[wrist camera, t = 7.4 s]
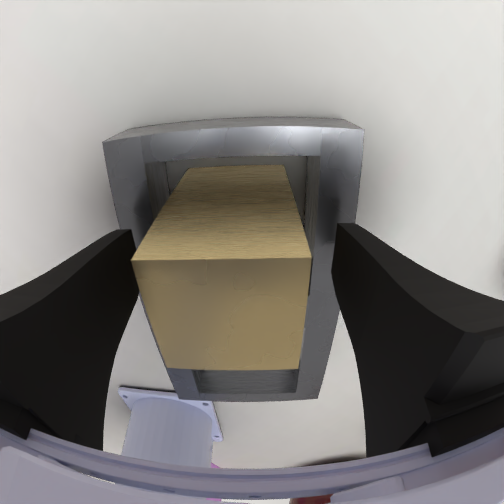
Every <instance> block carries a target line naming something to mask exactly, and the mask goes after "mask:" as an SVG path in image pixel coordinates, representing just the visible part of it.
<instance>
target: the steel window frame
mask: <svg viewBox="0 0 504 504" xmlns="http://www.w3.org/2000/svg"><path fill="white" fill-rule="evenodd" d="M102 143H103V149H104V155H105V161H106V166H107V172H108V177H109V182H110V187H111V192H112V196H113V201H114V205H115V210H116V214H117V218H118V222H119V226H120V230H122V229H131V230H132V234H133V238H134V242H135V246H136V250H137V249H138V247H139V246H140V244H141V242H142V241H143V239H144V237H145V235H146V234H147V232H148V230H149V229H150V227H151V226H152V224H153V222H154V221H155V219H156V217H157V216H158V214H159V213H160V211H161V209H162V208H163V206H164V205H165V203H166V202H167V200H168V198H169V197H170V194H169V187H168V180H167V173H166V165H165V161H174V160H186V159H200V158H217V157H238V156H308V158H307V186H306V207H305V225H304V232H305V236H306V239H307V242H308V246H309V249H310V253H311V256H312V260H311V270H310V280H309V289H308V298H307V306H306V315H305V323H304V330H303V338H302V345H301V352H300V359H299V366H298V369H282V370H199V369H179V368H167V367H166V364H165V362H164V359H163V356H162V354H161V351H160V348H159V346H158V343H157V340H156V337H155V335H154V332H153V329H152V326H151V323H150V320H149V317H148V315H147V312H146V308H145V305H144V302H143V299H142V296H141V293H140V291H139V296H140V299H141V302H142V305H143V308H144V311H145V314H146V317H147V320H148V323H149V325H150V328H151V331H152V334H153V337H154V339H155V342H156V345H157V347H158V350H159V352H160V355H161V357H162V360H163V362H164V365H165V367H166V370H167V372H168V375H169V377H170V380H171V382H172V384H173V387H174V389H175V391H176V393H177V396H178V398H179V399H182V400H198V401H224V402H264V401H290V400H306V399H318V395H319V392H320V388H321V385H322V381H323V377H324V374H325V370H326V366H327V362H328V358H329V354H330V350H331V346H332V342H333V338H334V333H335V329H336V324H337V320H338V315H339V311H340V307H339V304H338V301H337V298H336V295H335V290H334V286H333V280H332V275H331V268H332V260H333V253H334V245H335V237H336V229H337V223H355V218H356V211H357V203H358V195H359V186H360V177H361V167H362V155H363V143H364V129H362V128H360V127H358V126H356V125H354V124H352V123H350V122H348V121H346V120H344V119H330V118H306V117H251V118H227V119H211V120H198V121H187V122H178V123H169V124H160V125H153V126H145V127H139V128H132V129H127V130H125V131H123V132H121V133H119V134H117V135H115V136H113V137H111V138H109V139H107V140H105V141H103V142H102Z"/></svg>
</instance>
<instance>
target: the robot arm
mask: <svg viewBox="0 0 504 504" xmlns="http://www.w3.org/2000/svg"><path fill="white" fill-rule="evenodd" d="M136 251H137V250H136V246H135V242H134V238H133V234H132V230H131V229H122V230H115V231H113V232H111V233H109V234H107V235H105V236H103V237H102V238H100V239H98V240H97V241H95V242H94V243H92V244H90V245H89V246H87V247H86V248H84V249H83V250H81V251H80V252H78V253H77V254H75V255H73V256H72V257H70V258H69V259H67V260H66V261H64V262H62V263H61V264H59V265H58V266H56V267H55V268H53V269H51V270H50V271H48V272H46V273H44V274H43V275H41V276H39V277H37V278H35V279H33V280H32V281H30V282H28V283H26V284H24V285H22V286H19V287H17V288H15V289H13V290H11V291H9V292H7V293H4V294H2V295H0V504H248V503H236V502H222V501H212V500H206V498H216V499H240V500H242V499H243V500H262V499H263V500H264V499H287V498H301V497H311V496H320V495H328V494H333V495H332V496H331V497H330V500H331V502H330V503H328V504H501V503H502V502H504V301H502V300H498V299H495V298H492V297H489V296H486V295H483V294H480V293H478V292H475V291H473V290H470V289H467V288H465V287H463V286H461V285H458V284H456V283H454V282H451V281H449V280H447V279H445V278H443V277H441V276H439V275H437V274H435V273H433V272H431V271H430V270H428V269H426V268H424V267H422V266H420V265H419V264H417V263H415V262H414V261H412V260H411V259H409V258H407V257H406V256H404V255H402V254H401V253H399V252H398V251H396V250H395V249H393V248H392V247H390V246H389V245H387V244H386V243H384V242H383V241H382V240H380V239H379V238H377V237H376V236H374V235H373V234H371V233H370V232H368V231H367V230H365V229H364V228H362V227H361V226H359V225H357V224H355V223H337V229H336V237H335V245H334V253H333V260H332V268H331V275H332V280H333V286H334V290H335V295H336V298H337V301H338V304H339V307H340V310H341V313H342V316H343V319H344V322H345V324H346V327H347V330H348V333H349V336H350V339H351V342H352V346H353V349H354V353H355V357H356V362H357V368H358V373H359V379H360V385H361V392H362V400H363V409H364V419H365V431H366V458H363V459H358V460H352V461H346V462H339V463H332V464H324V465H315V466H305V467H292V468H273V469H227V468H211V459H212V447H213V441H218V442H219V441H223V436H222V432H221V429H220V426H219V422H218V419H217V416H216V412H215V409H214V405H213V402H212V401H198V400H182V399H179V398H178V396H177V393H172V392H160V391H150V390H141V389H133V388H125V387H119V389H118V393H119V395H120V396H121V398H122V399H123V400H124V402H125V403H126V405H127V406H128V408H129V409H130V410H131V416H130V420H129V424H128V428H127V432H126V436H125V440H124V445H123V449H122V453H121V455H117V454H113V453H108V452H104V451H103V430H104V417H105V407H106V399H107V393H108V387H109V381H110V376H111V372H112V367H113V363H114V359H115V355H116V352H117V349H118V346H119V343H120V341H121V338H122V335H123V333H124V330H125V328H126V325H127V323H128V321H129V318H130V316H131V313H132V311H133V308H134V306H135V303H136V301H137V298H138V295H139V291H140V290H139V286H138V283H137V280H136V276H135V273H134V270H133V266H132V262H131V259H132V258H133V256H134V254H135V252H136ZM82 473H83V474H82ZM85 474H86V475H85ZM87 475H90V476H93V477H96V478H100V479H103V480H107V481H111V482H114V483H115V484H112V483H108V482H105V481H101V480H98V479H94V478H91V477H89V476H87Z"/></svg>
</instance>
